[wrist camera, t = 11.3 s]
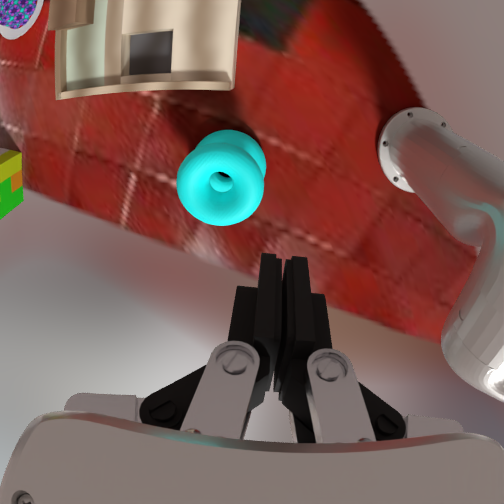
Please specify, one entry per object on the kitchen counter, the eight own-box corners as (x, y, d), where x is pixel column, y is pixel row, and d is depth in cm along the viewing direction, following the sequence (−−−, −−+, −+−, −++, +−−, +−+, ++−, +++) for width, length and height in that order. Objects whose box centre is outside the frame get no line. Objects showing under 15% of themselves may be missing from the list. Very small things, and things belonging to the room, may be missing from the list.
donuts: (210, 127, 30) (282, 188, 33) (225, 112, 38) (281, 160, 41) (157, 194, 34) (223, 245, 38) (180, 166, 43) (234, 208, 46)
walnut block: (95, -6, 26) (77, -10, 22) (93, 23, 28) (74, 22, 24) (69, 2, 26) (50, 0, 22) (67, 30, 28) (47, 30, 24)
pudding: (9, 52, 31) (-12, 55, 27) (-5, 7, 25) (-24, 8, 21) (54, 8, 28) (33, 7, 24) (39, -37, 22) (19, -40, 18)
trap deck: (248, -75, 22) (245, -88, 18) (234, 88, 36) (229, 90, 32) (82, -49, 22) (66, -55, 19) (73, 95, 36) (55, 100, 33)
